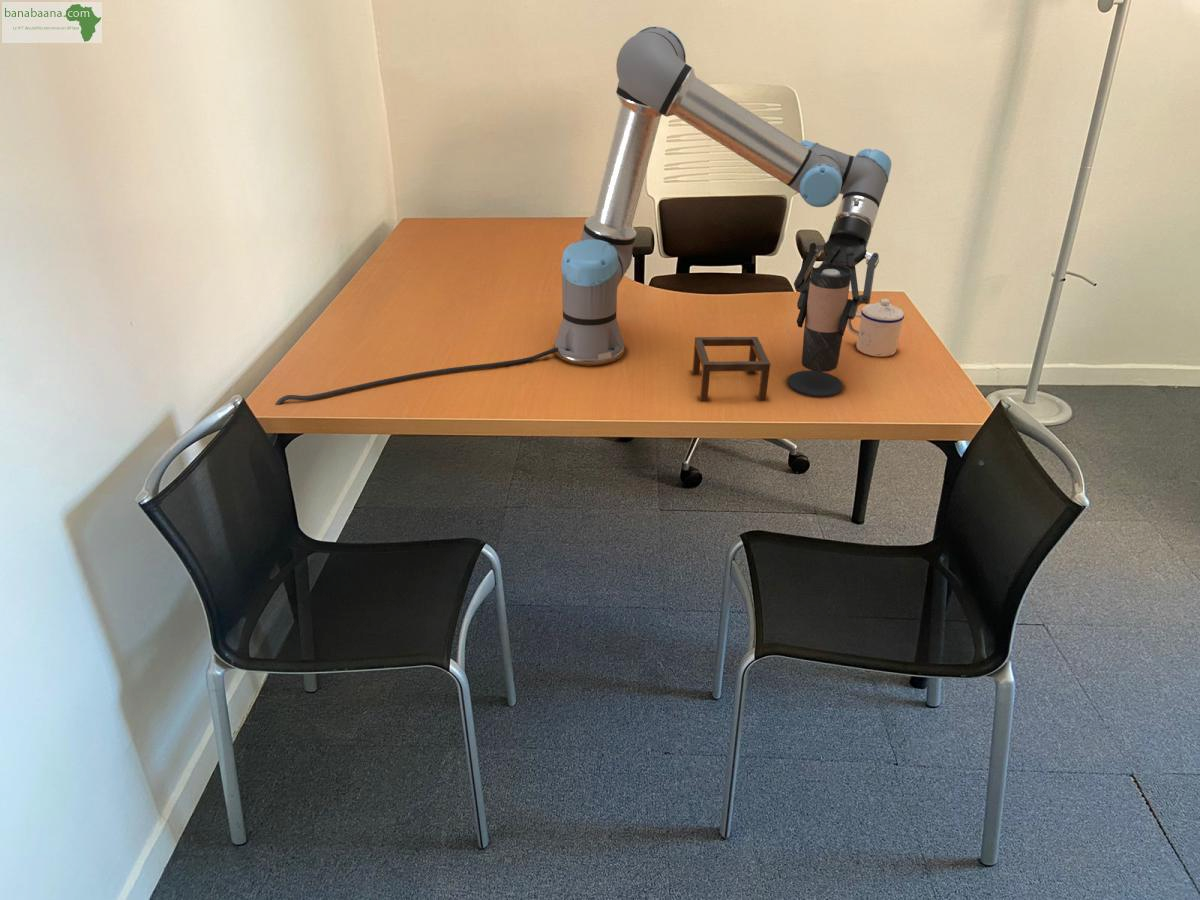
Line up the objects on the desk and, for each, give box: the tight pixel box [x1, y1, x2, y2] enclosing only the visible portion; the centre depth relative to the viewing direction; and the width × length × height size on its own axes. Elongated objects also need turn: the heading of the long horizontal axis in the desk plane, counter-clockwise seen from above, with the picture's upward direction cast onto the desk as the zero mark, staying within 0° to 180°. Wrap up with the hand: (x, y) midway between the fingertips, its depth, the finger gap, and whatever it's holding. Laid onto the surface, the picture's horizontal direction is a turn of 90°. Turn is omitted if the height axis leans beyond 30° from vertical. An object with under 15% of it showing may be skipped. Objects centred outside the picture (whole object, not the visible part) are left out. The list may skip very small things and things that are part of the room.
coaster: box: [787, 370, 843, 398], centre depth 178 cm, size 11×11×1 cm
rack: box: [692, 336, 771, 402], centre depth 176 cm, size 13×13×8 cm
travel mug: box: [801, 263, 851, 373], centre depth 171 cm, size 8×8×20 cm
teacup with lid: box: [846, 298, 905, 358], centre depth 192 cm, size 12×9×12 cm
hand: (819, 328), depth 169 cm, fingers closed on travel mug, 7 cm apart
